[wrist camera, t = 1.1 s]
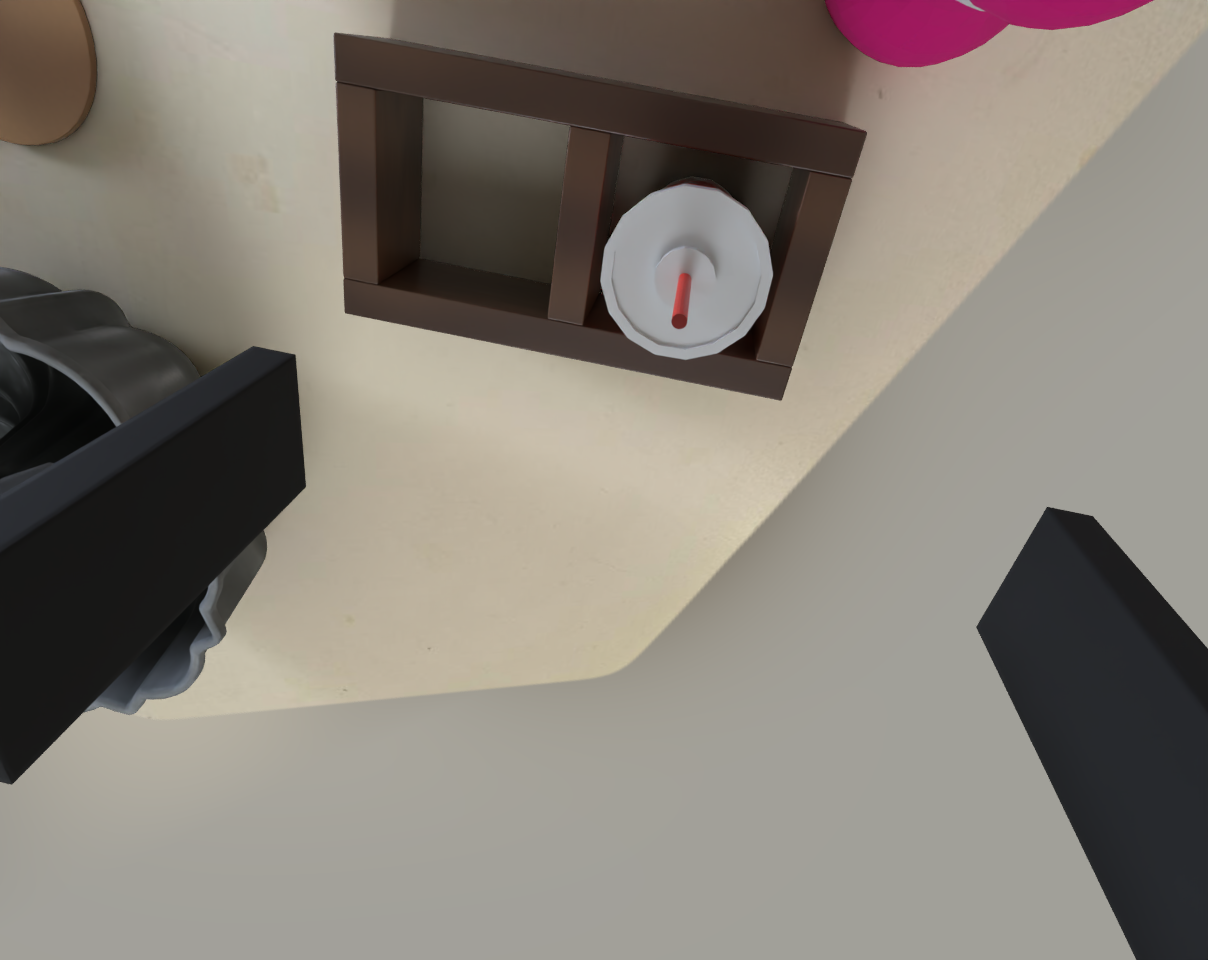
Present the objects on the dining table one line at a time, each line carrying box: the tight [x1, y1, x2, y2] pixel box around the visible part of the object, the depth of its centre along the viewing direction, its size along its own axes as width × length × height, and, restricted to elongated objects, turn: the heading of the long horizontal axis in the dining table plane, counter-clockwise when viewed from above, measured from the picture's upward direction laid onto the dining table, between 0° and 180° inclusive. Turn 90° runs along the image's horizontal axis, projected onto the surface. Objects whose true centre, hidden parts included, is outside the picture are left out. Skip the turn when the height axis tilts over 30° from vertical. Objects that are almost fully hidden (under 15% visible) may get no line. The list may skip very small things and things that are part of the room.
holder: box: [334, 33, 867, 400], centre depth 30 cm, size 11×20×5 cm, turn 81°
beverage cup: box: [600, 176, 773, 360], centre depth 26 cm, size 6×6×14 cm
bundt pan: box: [0, 267, 267, 715], centre depth 39 cm, size 26×26×10 cm
